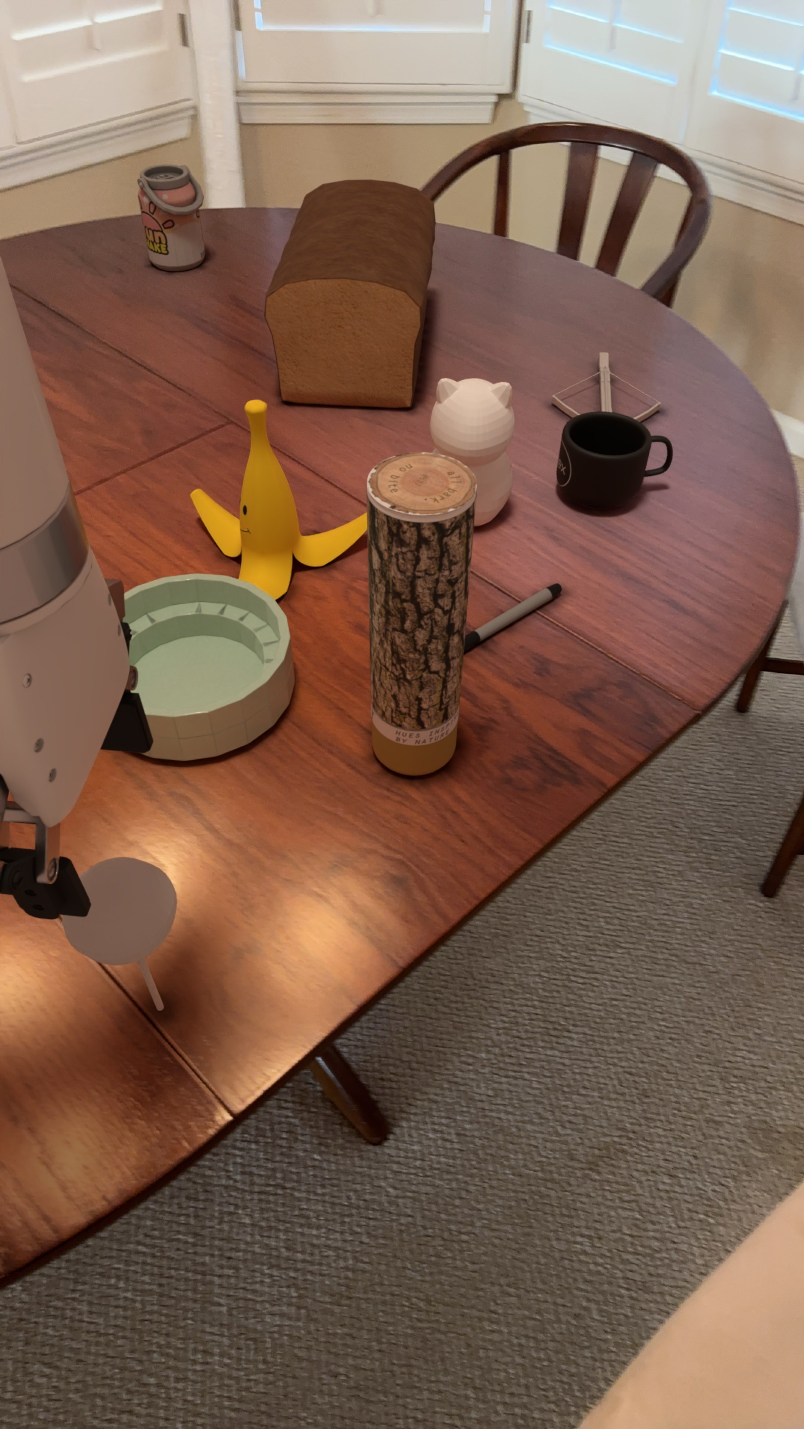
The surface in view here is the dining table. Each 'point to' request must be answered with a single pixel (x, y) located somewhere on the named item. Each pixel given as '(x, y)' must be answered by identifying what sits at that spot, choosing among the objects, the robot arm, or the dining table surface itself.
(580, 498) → the mug
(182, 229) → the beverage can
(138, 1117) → the dining table surface
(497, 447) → the cat figurine
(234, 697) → the bowl
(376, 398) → the bread
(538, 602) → the pen
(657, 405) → the crossbow
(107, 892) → the lollipop
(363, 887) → the dining table surface
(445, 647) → the paper tube
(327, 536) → the banana peel
